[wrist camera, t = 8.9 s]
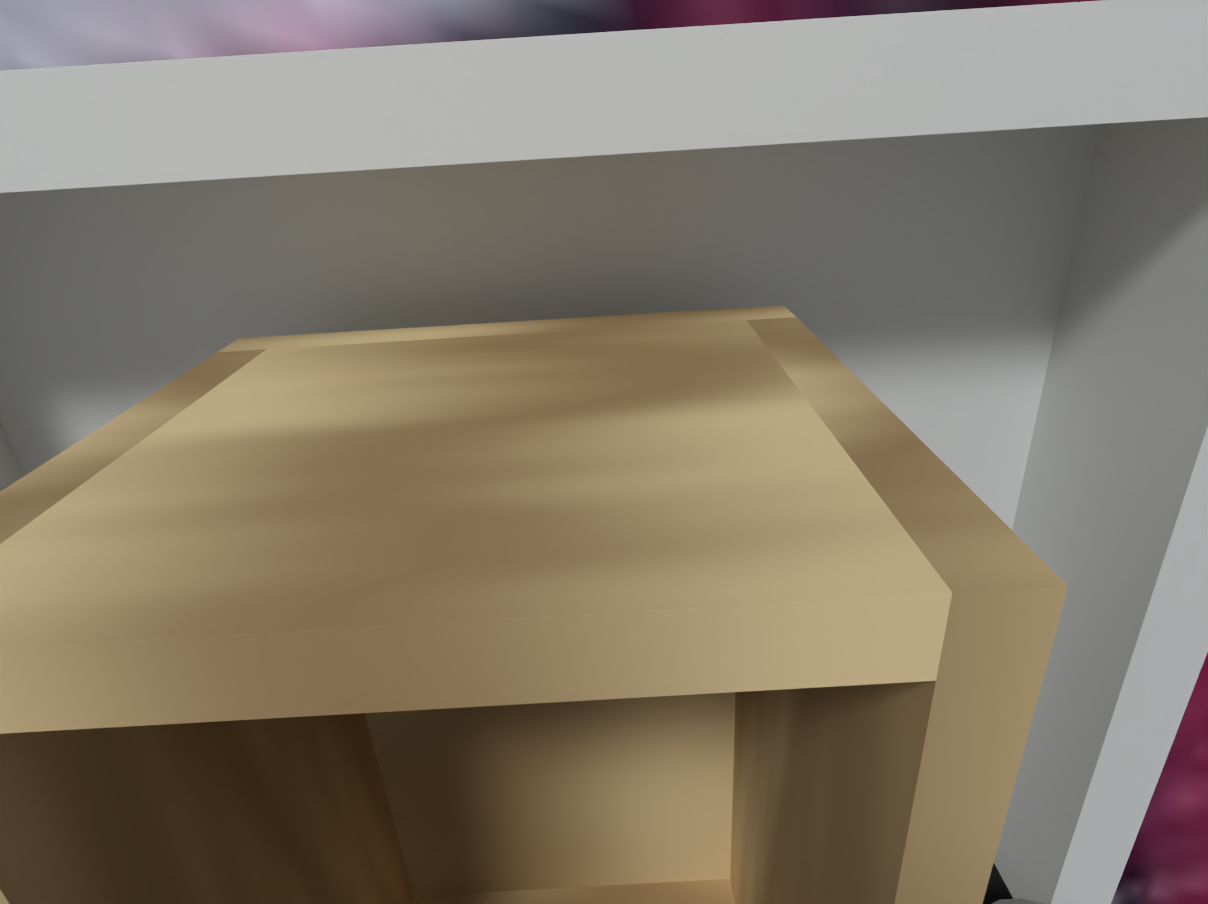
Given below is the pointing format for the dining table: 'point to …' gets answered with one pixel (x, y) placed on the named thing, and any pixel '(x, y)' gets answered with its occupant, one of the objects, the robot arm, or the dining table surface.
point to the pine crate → (512, 630)
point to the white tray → (710, 275)
